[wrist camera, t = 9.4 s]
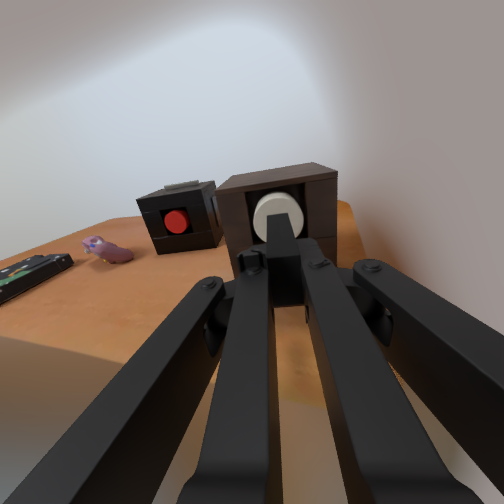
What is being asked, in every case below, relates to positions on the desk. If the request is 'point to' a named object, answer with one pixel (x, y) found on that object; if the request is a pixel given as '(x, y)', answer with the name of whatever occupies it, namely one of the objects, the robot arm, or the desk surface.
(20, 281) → the disk drive
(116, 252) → the video game controller
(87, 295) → the desk surface
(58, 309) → the desk surface
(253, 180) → the box
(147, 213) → the dark button box
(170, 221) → the button
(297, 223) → the timer button
